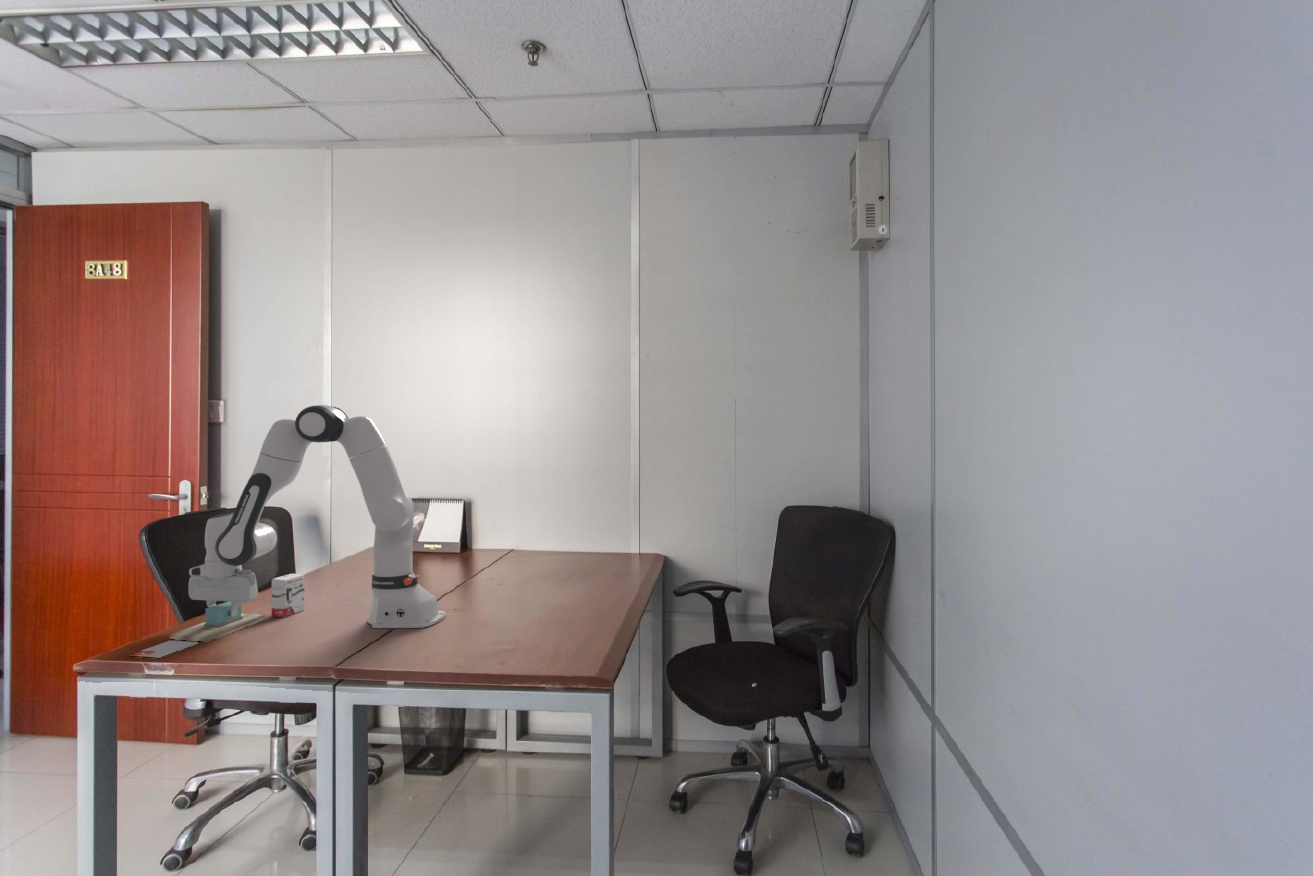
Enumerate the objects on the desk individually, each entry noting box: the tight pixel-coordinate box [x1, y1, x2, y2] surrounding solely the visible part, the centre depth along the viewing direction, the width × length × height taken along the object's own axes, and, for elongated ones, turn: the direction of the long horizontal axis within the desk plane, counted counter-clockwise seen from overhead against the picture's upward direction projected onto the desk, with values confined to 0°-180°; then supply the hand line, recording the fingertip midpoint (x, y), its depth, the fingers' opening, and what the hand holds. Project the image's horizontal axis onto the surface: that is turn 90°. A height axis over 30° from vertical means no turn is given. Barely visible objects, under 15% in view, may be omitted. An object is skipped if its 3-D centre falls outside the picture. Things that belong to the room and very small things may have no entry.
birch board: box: [169, 613, 266, 643], centre depth 177 cm, size 12×20×2 cm, turn 171°
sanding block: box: [204, 601, 243, 627], centre depth 178 cm, size 5×8×5 cm, turn 169°
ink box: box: [271, 573, 306, 618], centre depth 193 cm, size 9×5×12 cm, turn 168°
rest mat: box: [137, 639, 199, 659], centre depth 160 cm, size 9×11×1 cm
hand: (223, 615), depth 178 cm, fingers closed on sanding block, 4 cm apart
